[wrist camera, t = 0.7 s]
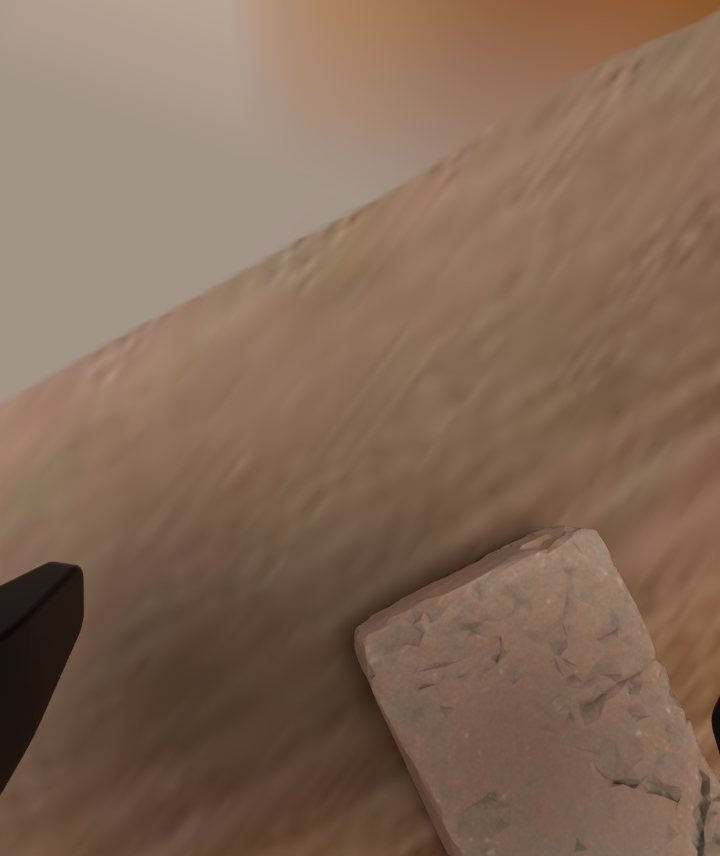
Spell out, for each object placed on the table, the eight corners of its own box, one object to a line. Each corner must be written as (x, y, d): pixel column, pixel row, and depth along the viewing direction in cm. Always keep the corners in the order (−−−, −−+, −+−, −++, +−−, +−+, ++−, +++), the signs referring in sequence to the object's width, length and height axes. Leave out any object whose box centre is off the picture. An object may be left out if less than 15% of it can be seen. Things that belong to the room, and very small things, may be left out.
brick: (777, 969, 23) (895, 1074, 18) (563, 1107, 21) (629, 1257, 17) (543, 520, 25) (593, 511, 20) (340, 622, 24) (345, 637, 19)
